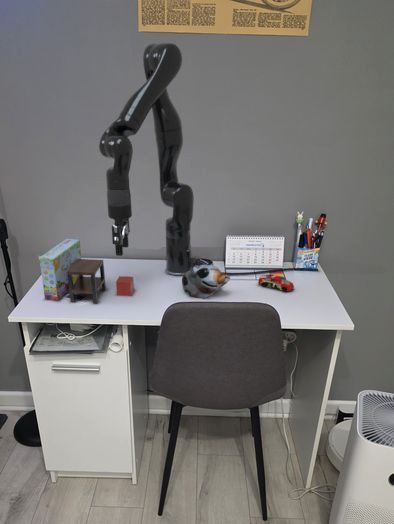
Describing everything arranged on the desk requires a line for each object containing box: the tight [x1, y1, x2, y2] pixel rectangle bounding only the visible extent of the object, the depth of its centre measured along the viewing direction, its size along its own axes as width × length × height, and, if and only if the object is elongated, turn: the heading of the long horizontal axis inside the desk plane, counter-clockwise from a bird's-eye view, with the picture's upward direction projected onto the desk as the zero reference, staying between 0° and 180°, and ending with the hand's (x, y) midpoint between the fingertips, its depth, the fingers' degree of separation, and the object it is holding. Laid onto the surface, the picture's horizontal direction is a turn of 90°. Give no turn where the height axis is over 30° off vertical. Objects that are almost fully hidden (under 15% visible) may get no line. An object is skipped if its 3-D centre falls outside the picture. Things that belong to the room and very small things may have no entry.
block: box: [115, 275, 135, 297], centre depth 171 cm, size 5×5×5 cm
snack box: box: [39, 238, 82, 301], centre depth 171 cm, size 21×6×15 cm, turn 168°
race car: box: [257, 274, 295, 293], centre depth 177 cm, size 13×5×4 cm, turn 57°
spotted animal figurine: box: [181, 263, 231, 299], centre depth 169 cm, size 15×12×14 cm
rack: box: [67, 258, 107, 304], centre depth 167 cm, size 9×12×11 cm
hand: (122, 251), depth 164 cm, fingers open, 8 cm apart
